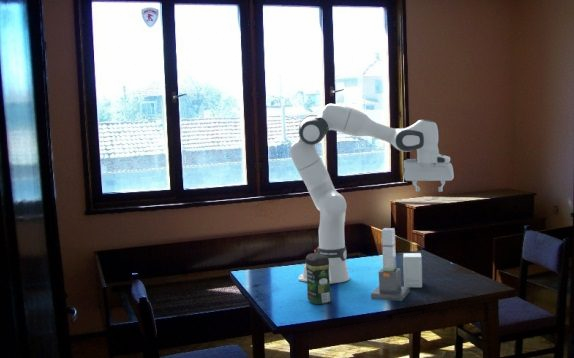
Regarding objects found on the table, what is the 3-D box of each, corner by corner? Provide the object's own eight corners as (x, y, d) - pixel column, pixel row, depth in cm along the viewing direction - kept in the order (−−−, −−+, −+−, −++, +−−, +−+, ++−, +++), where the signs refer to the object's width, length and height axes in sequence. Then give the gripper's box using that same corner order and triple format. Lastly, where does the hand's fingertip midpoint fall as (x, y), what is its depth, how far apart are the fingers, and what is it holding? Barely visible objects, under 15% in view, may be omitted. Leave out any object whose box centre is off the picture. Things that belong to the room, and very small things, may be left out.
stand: (371, 298, 231) (370, 273, 230) (380, 289, 242) (379, 265, 241) (401, 301, 226) (400, 275, 225) (409, 291, 236) (408, 267, 235)
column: (383, 275, 232) (381, 229, 230) (386, 272, 236) (384, 227, 234) (393, 276, 230) (392, 230, 228) (396, 273, 234) (394, 228, 232)
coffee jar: (304, 299, 234) (302, 253, 232) (322, 296, 237) (320, 250, 235) (315, 306, 225) (312, 258, 223) (334, 303, 228) (331, 255, 226)
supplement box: (422, 287, 241) (421, 256, 240) (403, 287, 243) (402, 257, 242) (422, 282, 249) (421, 252, 247) (404, 282, 250) (403, 252, 249)
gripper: (401, 159, 251) (402, 192, 252) (451, 158, 242) (452, 192, 243) (405, 158, 256) (406, 190, 258) (454, 157, 248) (454, 190, 249)
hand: (429, 191), depth 251 cm, fingers open, 8 cm apart
